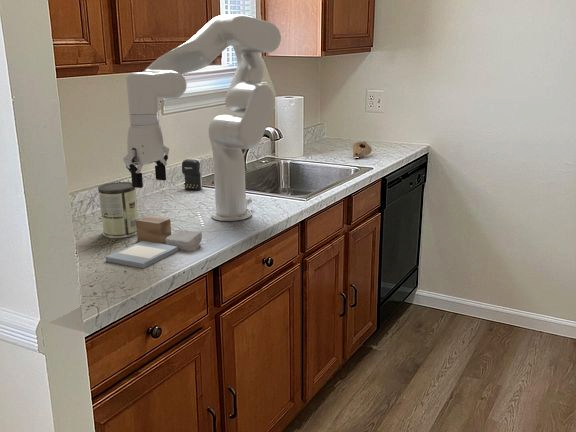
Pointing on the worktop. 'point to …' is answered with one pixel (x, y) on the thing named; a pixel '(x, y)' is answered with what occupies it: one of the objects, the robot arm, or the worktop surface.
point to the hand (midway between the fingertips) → (149, 183)
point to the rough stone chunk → (185, 240)
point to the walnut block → (153, 229)
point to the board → (142, 254)
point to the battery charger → (192, 174)
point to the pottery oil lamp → (361, 149)
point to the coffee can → (118, 209)
